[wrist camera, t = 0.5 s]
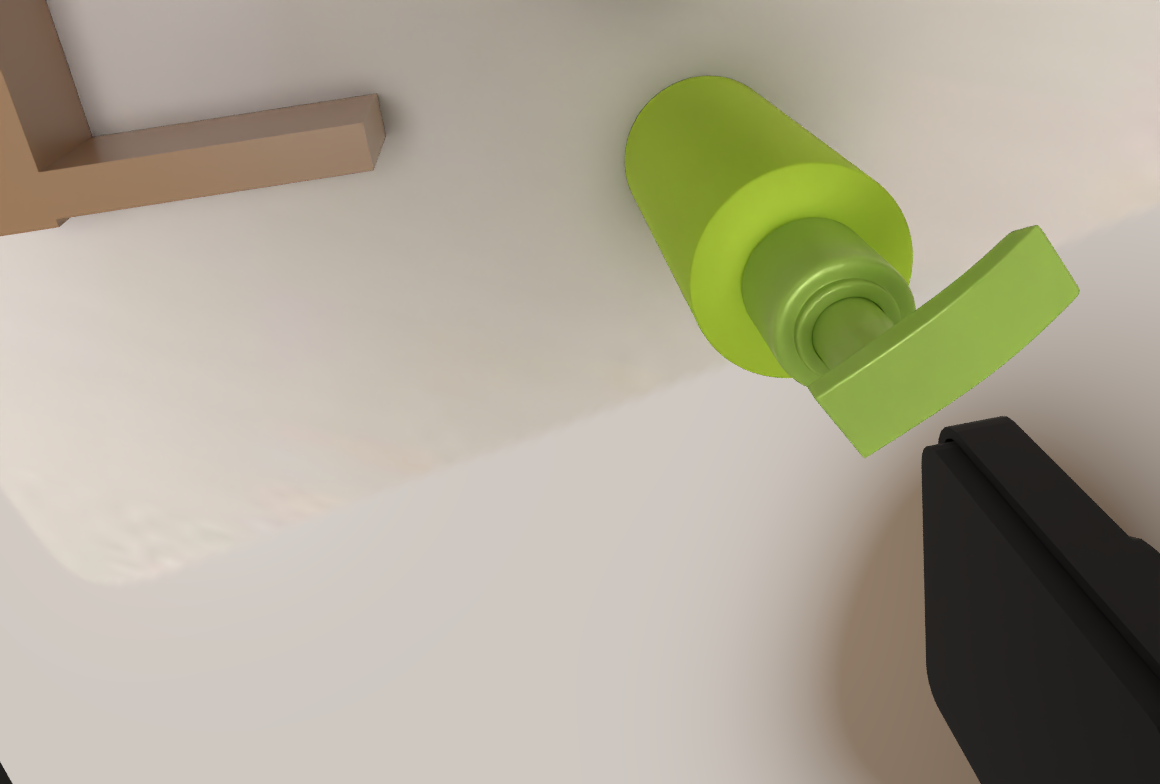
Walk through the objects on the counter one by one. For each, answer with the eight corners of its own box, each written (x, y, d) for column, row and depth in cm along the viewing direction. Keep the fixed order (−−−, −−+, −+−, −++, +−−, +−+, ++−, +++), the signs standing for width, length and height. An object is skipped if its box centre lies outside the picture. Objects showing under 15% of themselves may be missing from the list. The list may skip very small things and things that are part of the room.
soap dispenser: (834, 147, 39) (1139, 370, 21) (687, 264, 40) (856, 565, 23) (743, 20, 37) (999, 149, 19) (592, 149, 38) (694, 383, 20)
